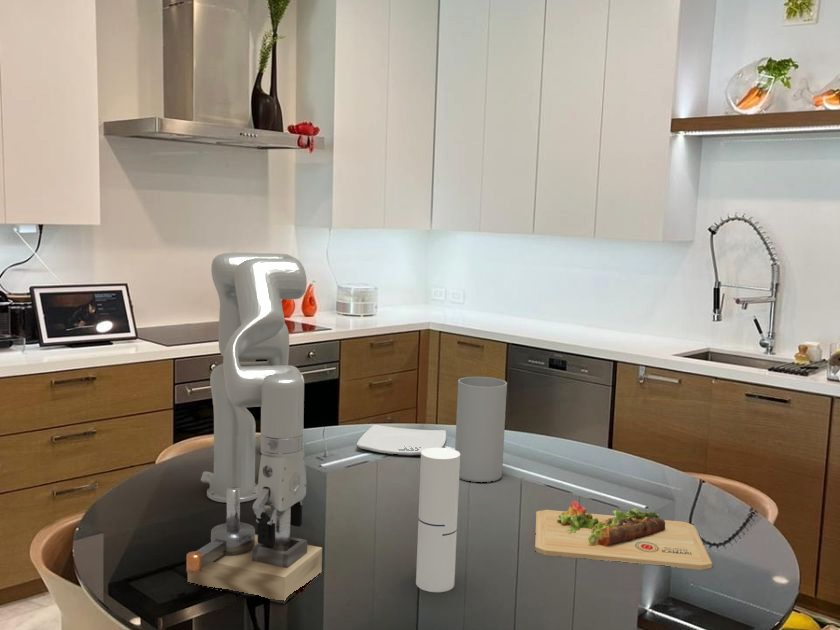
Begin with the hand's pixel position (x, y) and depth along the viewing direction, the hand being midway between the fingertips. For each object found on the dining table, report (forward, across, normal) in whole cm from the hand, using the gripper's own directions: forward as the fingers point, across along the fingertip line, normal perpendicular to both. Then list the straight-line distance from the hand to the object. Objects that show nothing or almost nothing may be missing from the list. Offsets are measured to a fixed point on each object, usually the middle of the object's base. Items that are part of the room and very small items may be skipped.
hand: (280, 534), depth 154 cm
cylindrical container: (+10, +12, -26) cm, 30 cm away
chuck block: (+9, 0, +5) cm, 11 cm away
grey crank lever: (+4, -5, +10) cm, 12 cm away
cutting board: (+10, +48, -55) cm, 74 cm away
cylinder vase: (+10, +76, -15) cm, 78 cm away
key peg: (+4, 0, 0) cm, 4 cm away
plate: (+10, +93, +13) cm, 94 cm away
